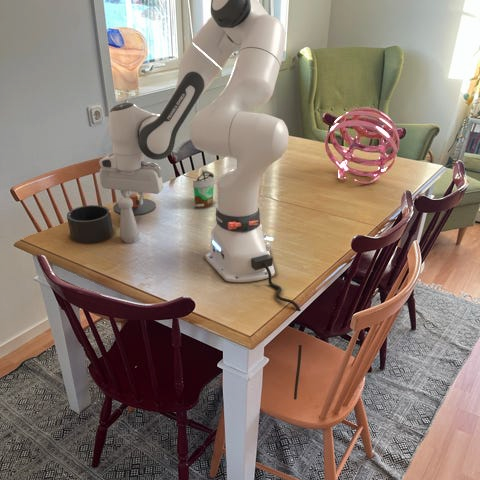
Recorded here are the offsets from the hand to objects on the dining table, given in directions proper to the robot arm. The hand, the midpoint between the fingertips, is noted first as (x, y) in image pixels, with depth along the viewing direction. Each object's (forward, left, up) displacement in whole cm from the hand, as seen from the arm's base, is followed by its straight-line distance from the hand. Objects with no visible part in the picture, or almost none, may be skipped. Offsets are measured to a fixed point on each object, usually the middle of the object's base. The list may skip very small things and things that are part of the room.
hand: (134, 203), depth 155 cm
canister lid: (0, 0, -2) cm, 2 cm away
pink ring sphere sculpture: (+18, -91, -6) cm, 93 cm away
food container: (+7, -26, -6) cm, 27 cm away
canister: (-8, +14, -5) cm, 17 cm away
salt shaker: (-15, +3, -6) cm, 17 cm away
